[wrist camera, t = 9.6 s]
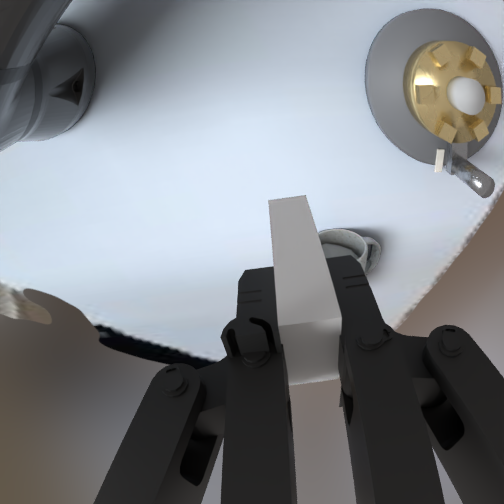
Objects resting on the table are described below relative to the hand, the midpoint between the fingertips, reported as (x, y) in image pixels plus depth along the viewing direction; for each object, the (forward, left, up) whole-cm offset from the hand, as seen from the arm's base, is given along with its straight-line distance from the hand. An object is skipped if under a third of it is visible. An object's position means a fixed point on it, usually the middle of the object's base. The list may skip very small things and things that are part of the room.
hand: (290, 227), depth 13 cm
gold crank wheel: (+7, +20, -23) cm, 31 cm away
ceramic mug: (+21, 0, -25) cm, 32 cm away
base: (+5, +21, -24) cm, 33 cm away
